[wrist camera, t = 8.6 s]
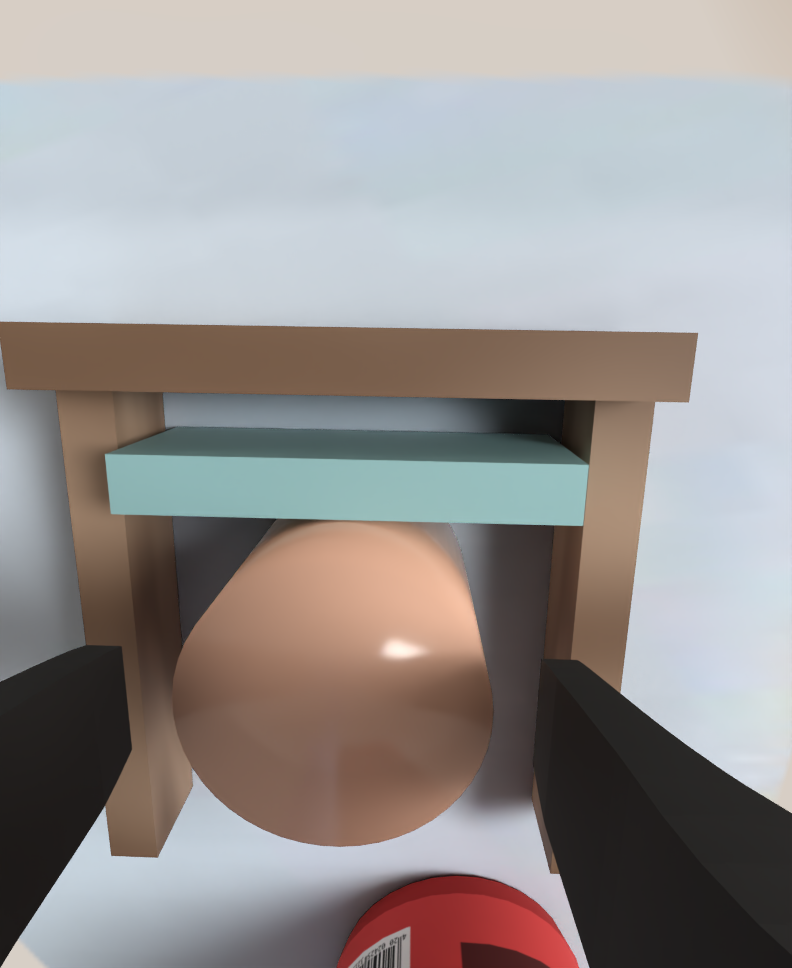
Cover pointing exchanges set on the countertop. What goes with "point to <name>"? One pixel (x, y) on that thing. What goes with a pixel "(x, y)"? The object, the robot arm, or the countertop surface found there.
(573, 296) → the countertop surface
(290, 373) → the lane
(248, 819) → the tan rounded cylinder
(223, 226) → the countertop surface
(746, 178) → the countertop surface
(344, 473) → the plate
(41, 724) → the robot arm
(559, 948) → the canned food
